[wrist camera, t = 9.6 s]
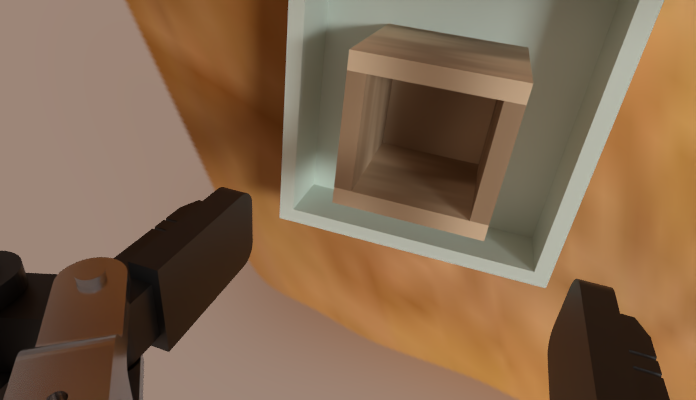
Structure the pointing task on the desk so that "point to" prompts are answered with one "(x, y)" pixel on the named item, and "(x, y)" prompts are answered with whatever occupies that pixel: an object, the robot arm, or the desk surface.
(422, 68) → the oak crate
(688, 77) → the desk surface
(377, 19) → the green crate
